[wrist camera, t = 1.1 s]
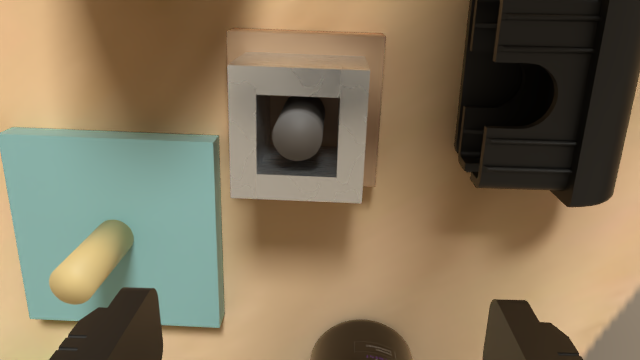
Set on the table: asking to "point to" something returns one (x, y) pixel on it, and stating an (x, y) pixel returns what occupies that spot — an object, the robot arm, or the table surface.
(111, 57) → the table surface
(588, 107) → the end cap
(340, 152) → the collar
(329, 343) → the supplement bottle
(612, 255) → the table surface
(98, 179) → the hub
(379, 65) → the stand
